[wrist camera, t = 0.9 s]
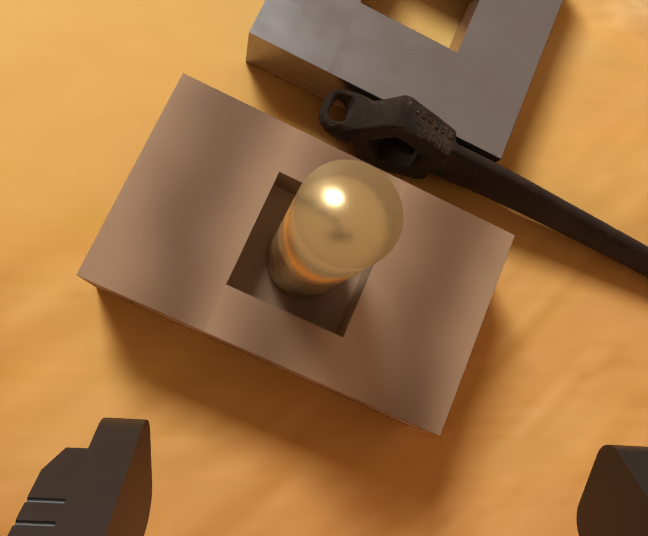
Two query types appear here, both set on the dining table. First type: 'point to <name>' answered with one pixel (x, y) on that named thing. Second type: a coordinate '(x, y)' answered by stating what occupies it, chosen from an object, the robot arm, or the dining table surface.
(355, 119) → the wrench
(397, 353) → the brown recessed block
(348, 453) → the dining table surface
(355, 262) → the gold round-topped peg
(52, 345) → the dining table surface
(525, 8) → the block
